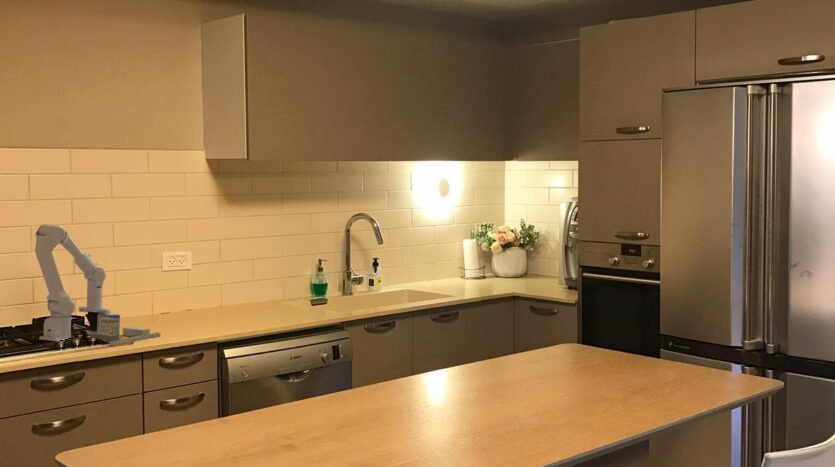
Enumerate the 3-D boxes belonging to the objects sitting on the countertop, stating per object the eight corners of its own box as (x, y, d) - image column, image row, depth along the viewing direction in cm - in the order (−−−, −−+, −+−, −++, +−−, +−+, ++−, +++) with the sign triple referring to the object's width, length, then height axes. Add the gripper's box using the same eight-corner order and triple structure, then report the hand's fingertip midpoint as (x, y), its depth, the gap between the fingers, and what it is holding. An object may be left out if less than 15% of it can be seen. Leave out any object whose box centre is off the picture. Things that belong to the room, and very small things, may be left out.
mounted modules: (111, 343, 343) (111, 335, 343) (91, 341, 347) (91, 333, 347) (149, 336, 362) (149, 328, 362) (129, 333, 366) (130, 326, 366)
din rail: (113, 345, 339) (113, 341, 339) (109, 345, 340) (109, 341, 340) (160, 336, 363) (160, 332, 363) (157, 335, 364) (157, 332, 364)
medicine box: (98, 337, 355) (99, 315, 354) (96, 335, 359) (97, 313, 358) (119, 336, 359) (120, 314, 358) (117, 334, 363) (117, 313, 362)
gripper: (116, 297, 360) (115, 331, 361) (88, 294, 366) (87, 328, 367) (103, 299, 354) (102, 334, 355) (74, 296, 360) (74, 330, 361)
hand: (93, 331), depth 360 cm, fingers closed
